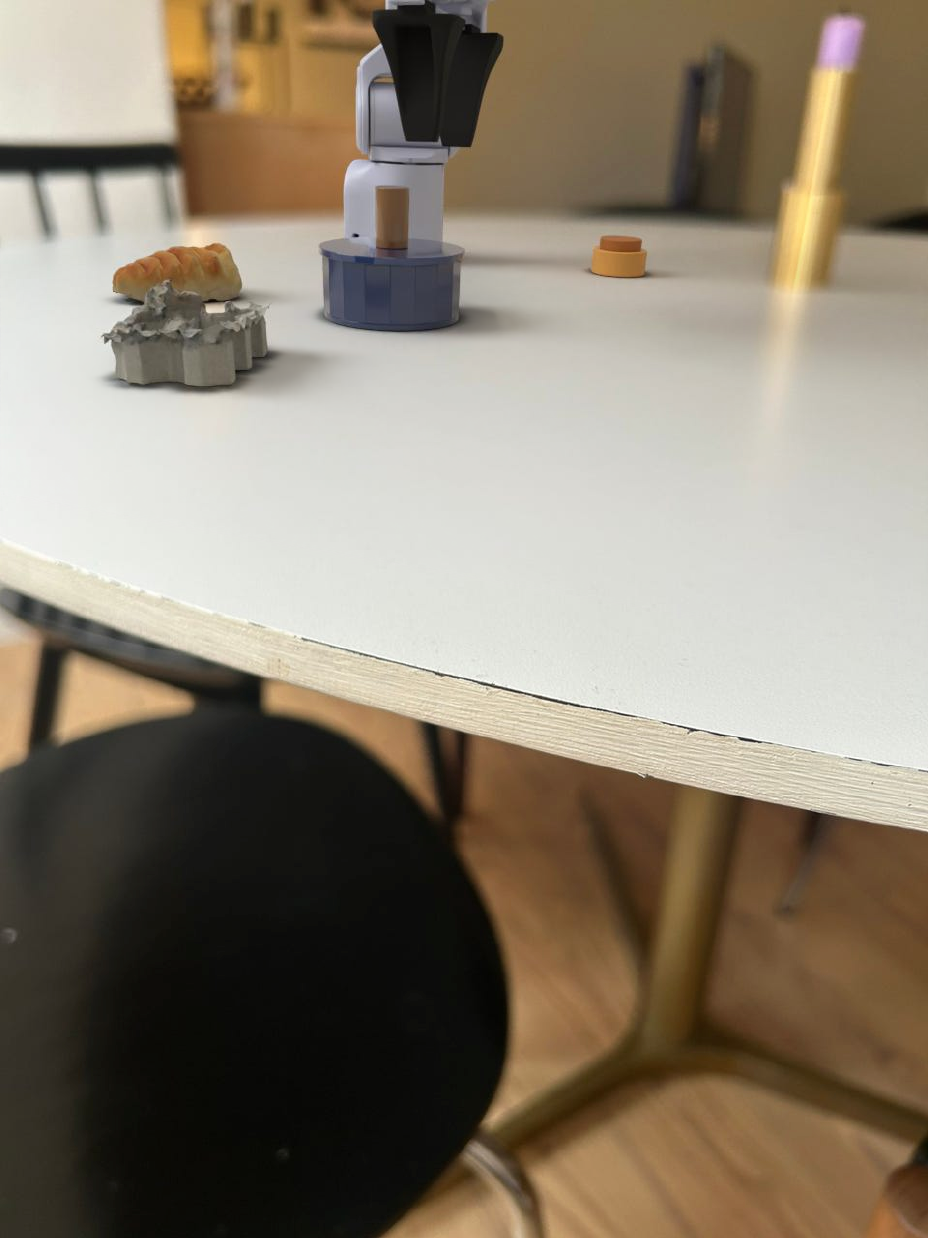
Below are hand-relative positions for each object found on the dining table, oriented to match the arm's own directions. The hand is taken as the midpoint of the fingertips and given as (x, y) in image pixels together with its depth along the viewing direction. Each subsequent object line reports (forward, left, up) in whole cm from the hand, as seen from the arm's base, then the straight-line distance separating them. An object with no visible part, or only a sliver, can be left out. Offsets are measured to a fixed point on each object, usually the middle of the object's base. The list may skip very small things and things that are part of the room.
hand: (440, 144), depth 66 cm
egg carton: (-8, -20, -12) cm, 24 cm away
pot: (-3, -1, -12) cm, 12 cm away
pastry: (-20, -2, -12) cm, 24 cm away
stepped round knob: (+9, +29, -12) cm, 33 cm away
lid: (-3, -1, -7) cm, 8 cm away
